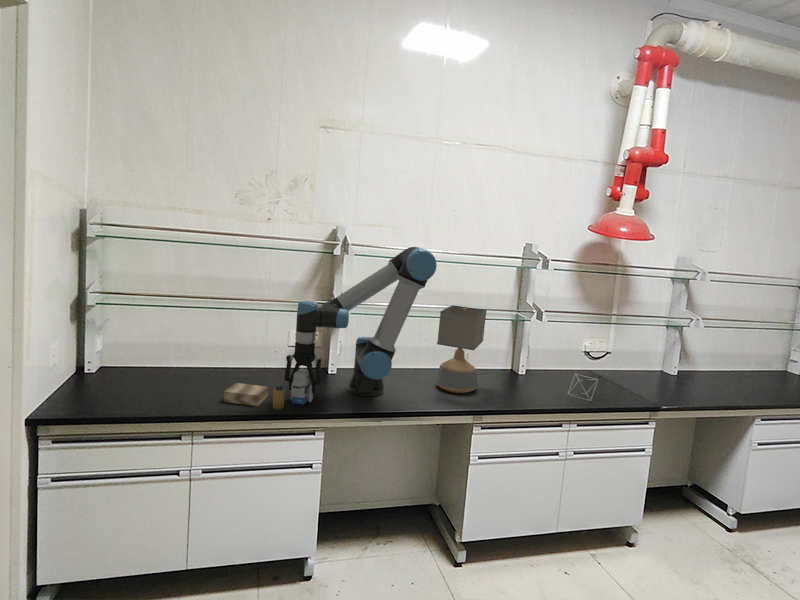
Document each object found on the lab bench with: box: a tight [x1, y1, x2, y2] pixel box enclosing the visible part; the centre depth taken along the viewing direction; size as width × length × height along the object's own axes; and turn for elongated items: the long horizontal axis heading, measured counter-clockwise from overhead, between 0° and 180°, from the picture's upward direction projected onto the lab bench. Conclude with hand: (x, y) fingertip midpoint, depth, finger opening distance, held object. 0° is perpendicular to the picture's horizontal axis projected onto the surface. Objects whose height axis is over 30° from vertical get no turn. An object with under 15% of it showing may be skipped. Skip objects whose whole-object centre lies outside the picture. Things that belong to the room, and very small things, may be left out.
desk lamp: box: [435, 304, 488, 394], centre depth 239 cm, size 22×19×37 cm
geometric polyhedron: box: [567, 373, 599, 402], centre depth 247 cm, size 12×11×9 cm
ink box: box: [291, 368, 312, 405], centre depth 208 cm, size 8×5×12 cm, turn 168°
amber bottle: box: [272, 384, 285, 410], centre depth 199 cm, size 4×4×8 cm
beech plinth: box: [223, 382, 269, 407], centre depth 204 cm, size 13×11×4 cm
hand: (301, 399), depth 208 cm, fingers open, 6 cm apart
